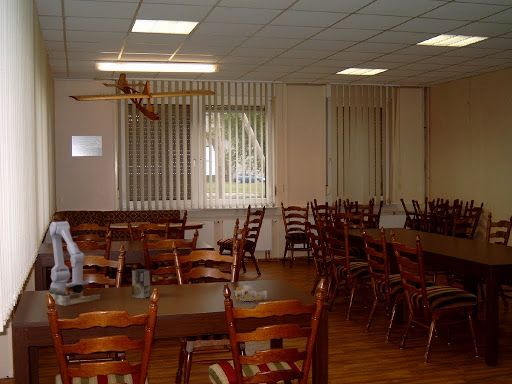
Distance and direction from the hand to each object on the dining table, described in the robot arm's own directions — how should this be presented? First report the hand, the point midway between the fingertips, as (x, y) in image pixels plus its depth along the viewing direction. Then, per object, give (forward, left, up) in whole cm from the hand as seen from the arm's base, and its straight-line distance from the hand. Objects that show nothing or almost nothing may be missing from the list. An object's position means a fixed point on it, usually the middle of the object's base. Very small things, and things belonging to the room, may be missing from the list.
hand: (77, 298), depth 390 cm
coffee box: (+20, +30, -2) cm, 37 cm away
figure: (+78, +60, -2) cm, 99 cm away
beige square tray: (0, -6, -1) cm, 6 cm away
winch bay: (0, -3, -1) cm, 3 cm away
